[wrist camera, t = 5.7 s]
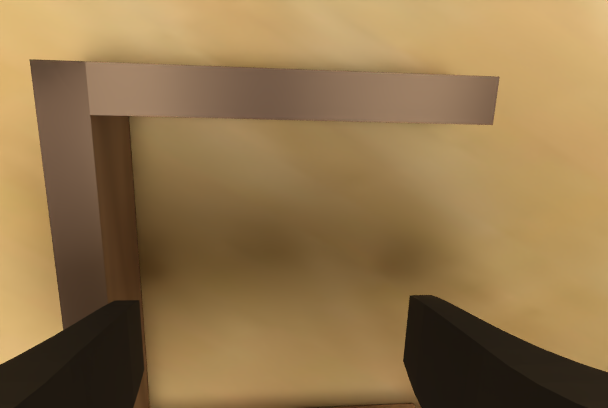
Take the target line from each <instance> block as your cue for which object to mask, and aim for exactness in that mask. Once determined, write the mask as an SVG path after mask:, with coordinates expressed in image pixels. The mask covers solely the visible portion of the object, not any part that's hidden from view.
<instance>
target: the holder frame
mask: <svg viewBox="0 0 608 408" xmlns="http://www.w3.org/2000/svg"><path fill="white" fill-rule="evenodd" d="M30 66H31V74H32V82H33V90H34V98H35V106H36V114H37V122H38V130H39V138H40V146H41V154H42V162H43V170H44V178H45V186H46V194H47V202H48V210H49V218H50V226H51V234H52V242H53V250H54V258H55V266H56V274H57V282H58V290H59V298H60V306H61V314H62V322H63V330H65V329H66V328H68V327H70V326H71V325H73V324H75V323H76V322H78V321H80V320H81V319H83V318H85V317H86V316H88V315H89V314H91V313H93V312H94V311H96V310H98V309H100V308H101V307H103V306H105V305H107V304H109V303H111V302H113V301H117V300H139V302H140V315H141V329H142V343H143V356H144V373H143V377H142V380H141V384H140V388H139V391H138V394H137V398H136V401H135V404H134V407H133V408H150V407H149V393H148V379H147V365H146V351H145V337H144V323H143V309H142V295H141V281H140V267H139V254H138V240H137V226H136V212H135V198H134V184H133V170H132V156H131V142H130V128H129V116H153V117H194V118H234V119H275V120H315V121H355V122H396V123H436V124H477V125H493V120H494V112H495V105H496V98H497V91H498V84H499V77H494V76H466V75H439V74H412V73H384V72H357V71H330V70H303V69H275V68H248V67H221V66H194V65H166V64H139V63H112V62H85V61H57V60H30ZM321 408H415V406H414V404H390V405H367V406H344V407H321Z"/></svg>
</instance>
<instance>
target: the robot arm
mask: <svg viewBox="0 0 608 408" xmlns="http://www.w3.org/2000/svg"><path fill="white" fill-rule="evenodd" d="M403 362H404V365H405V368H406V371H407V374H408V377H409V380H410V382H411V385H412V388H413V390H414V393H415V395H416V397H417V399H418V401H419V403H420V405H421V407H422V408H608V372H605V371H602V370H598V369H595V368H592V367H589V366H586V365H583V364H580V363H578V362H575V361H572V360H570V359H567V358H564V357H562V356H559V355H557V354H554V353H552V352H549V351H546V350H544V349H542V348H539V347H537V346H535V345H532V344H530V343H528V342H526V341H524V340H522V339H519V338H517V337H515V336H513V335H511V334H509V333H507V332H505V331H503V330H501V329H499V328H497V327H495V326H493V325H491V324H489V323H487V322H485V321H483V320H481V319H479V318H477V317H475V316H473V315H472V314H470V313H468V312H466V311H464V310H462V309H460V308H458V307H456V306H454V305H453V304H451V303H449V302H446V301H444V300H442V299H440V298H438V297H435V296H432V295H412V296H410V300H409V310H408V319H407V329H406V339H405V349H404V359H403ZM143 373H144V356H143V343H142V329H141V315H140V302H139V300H117V301H113V302H111V303H109V304H107V305H105V306H103V307H101V308H100V309H98V310H96V311H94V312H93V313H91V314H89V315H88V316H86V317H85V318H83V319H81V320H80V321H78V322H76V323H75V324H73V325H71V326H70V327H68V328H66V329H65V330H63V331H61V332H60V333H58V334H56V335H55V336H53V337H51V338H49V339H47V340H46V341H44V342H42V343H40V344H38V345H36V346H35V347H33V348H31V349H29V350H27V351H26V352H24V353H22V354H20V355H18V356H16V357H14V358H13V359H11V360H9V361H7V362H5V363H3V364H0V408H133V407H134V404H135V401H136V398H137V394H138V391H139V388H140V384H141V380H142V377H143Z"/></svg>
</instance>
